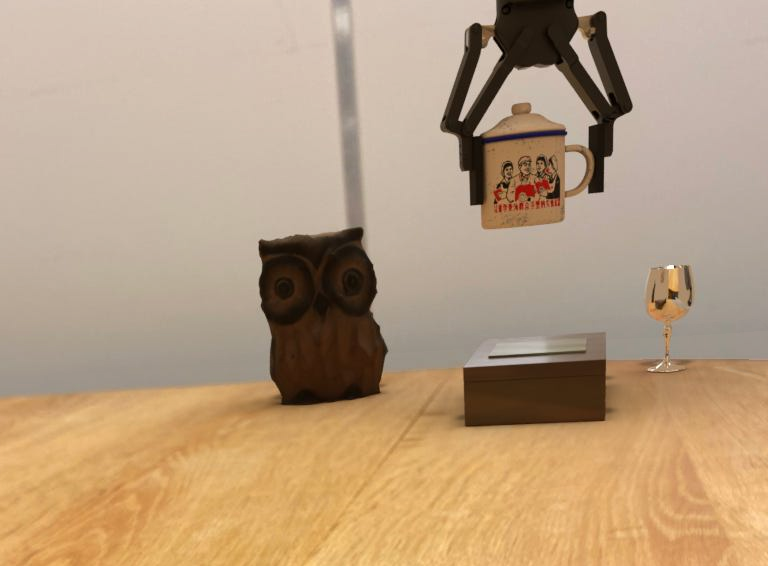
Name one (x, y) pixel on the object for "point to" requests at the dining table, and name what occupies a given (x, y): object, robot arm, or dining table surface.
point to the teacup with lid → (527, 171)
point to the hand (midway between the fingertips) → (536, 199)
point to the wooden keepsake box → (536, 380)
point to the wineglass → (668, 302)
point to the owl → (321, 317)
